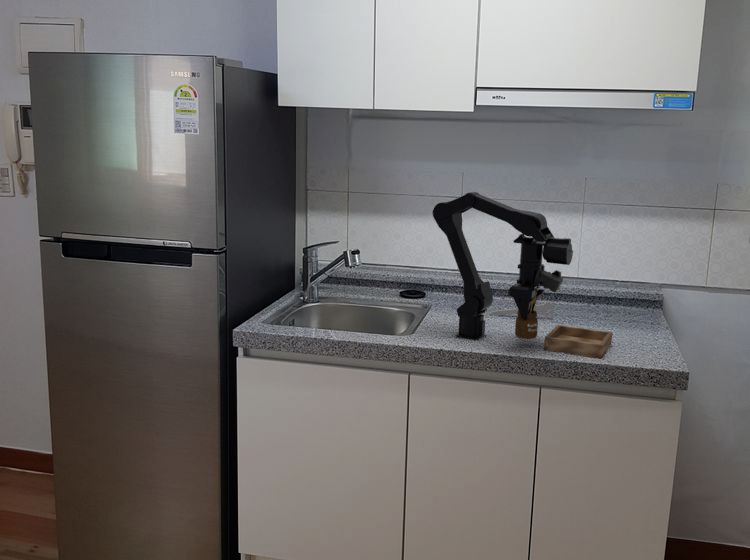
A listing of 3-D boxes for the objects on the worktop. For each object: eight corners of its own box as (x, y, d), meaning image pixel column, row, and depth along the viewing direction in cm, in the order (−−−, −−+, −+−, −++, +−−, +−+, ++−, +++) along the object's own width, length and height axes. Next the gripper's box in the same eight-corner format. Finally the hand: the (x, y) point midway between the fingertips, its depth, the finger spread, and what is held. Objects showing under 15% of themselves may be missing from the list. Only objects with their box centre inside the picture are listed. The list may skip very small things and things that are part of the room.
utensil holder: (510, 336, 198) (513, 293, 195) (522, 331, 202) (524, 289, 200) (530, 341, 194) (532, 297, 191) (541, 336, 199) (544, 293, 196)
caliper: (553, 319, 229) (554, 300, 228) (553, 320, 228) (554, 301, 226) (487, 315, 233) (488, 295, 231) (487, 315, 232) (488, 296, 230)
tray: (543, 349, 195) (544, 337, 194) (556, 336, 208) (557, 324, 207) (601, 358, 188) (602, 345, 188) (611, 344, 201) (612, 332, 201)
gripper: (552, 269, 182) (548, 329, 185) (569, 259, 199) (564, 314, 202) (509, 264, 187) (505, 323, 190) (528, 255, 204) (525, 309, 207)
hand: (527, 317), depth 197 cm, fingers closed on utensil holder, 5 cm apart
